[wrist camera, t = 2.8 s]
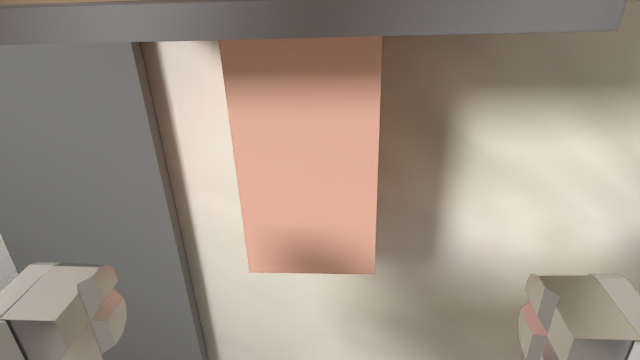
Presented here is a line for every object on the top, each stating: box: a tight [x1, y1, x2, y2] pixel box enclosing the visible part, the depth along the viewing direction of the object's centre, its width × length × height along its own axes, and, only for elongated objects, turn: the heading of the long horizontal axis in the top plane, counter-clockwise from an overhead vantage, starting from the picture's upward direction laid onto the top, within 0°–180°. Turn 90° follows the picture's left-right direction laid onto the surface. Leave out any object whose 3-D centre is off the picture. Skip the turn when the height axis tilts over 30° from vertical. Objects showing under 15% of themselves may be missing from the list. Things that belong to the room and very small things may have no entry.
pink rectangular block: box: [219, 36, 382, 274], centre depth 12 cm, size 4×14×4 cm, turn 2°
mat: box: [0, 42, 208, 360], centre depth 17 cm, size 7×16×1 cm, turn 2°
